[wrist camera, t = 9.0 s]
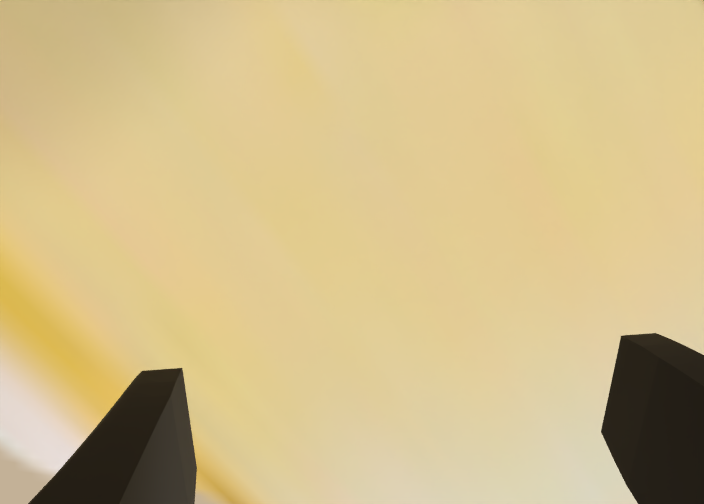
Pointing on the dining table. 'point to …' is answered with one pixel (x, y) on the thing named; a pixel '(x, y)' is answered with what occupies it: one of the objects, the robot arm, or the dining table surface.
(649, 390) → the robot arm
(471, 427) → the dining table surface
